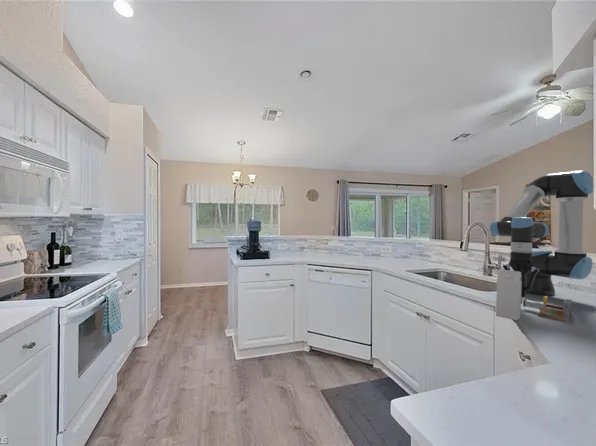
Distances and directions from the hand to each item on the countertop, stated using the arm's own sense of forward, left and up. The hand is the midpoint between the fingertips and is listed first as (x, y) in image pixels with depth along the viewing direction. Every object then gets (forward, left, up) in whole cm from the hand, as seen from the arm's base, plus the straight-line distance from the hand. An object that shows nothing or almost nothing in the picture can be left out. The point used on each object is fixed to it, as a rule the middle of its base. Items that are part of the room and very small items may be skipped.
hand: (519, 303), depth 124 cm
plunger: (0, +6, -1) cm, 6 cm away
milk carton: (+18, +1, -2) cm, 18 cm away
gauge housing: (0, +12, -2) cm, 12 cm away
